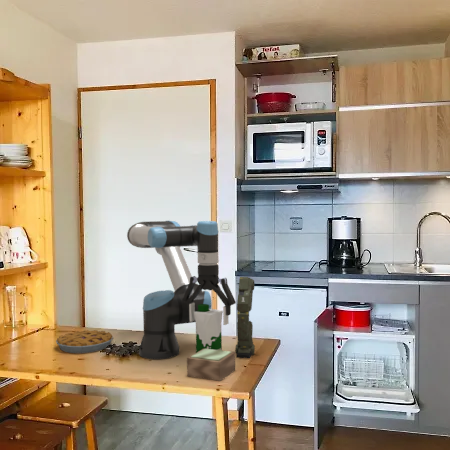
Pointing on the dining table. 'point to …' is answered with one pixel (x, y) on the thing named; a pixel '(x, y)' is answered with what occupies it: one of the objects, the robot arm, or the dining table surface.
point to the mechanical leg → (244, 319)
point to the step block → (211, 364)
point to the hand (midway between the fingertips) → (208, 322)
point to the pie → (84, 341)
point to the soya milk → (208, 328)
